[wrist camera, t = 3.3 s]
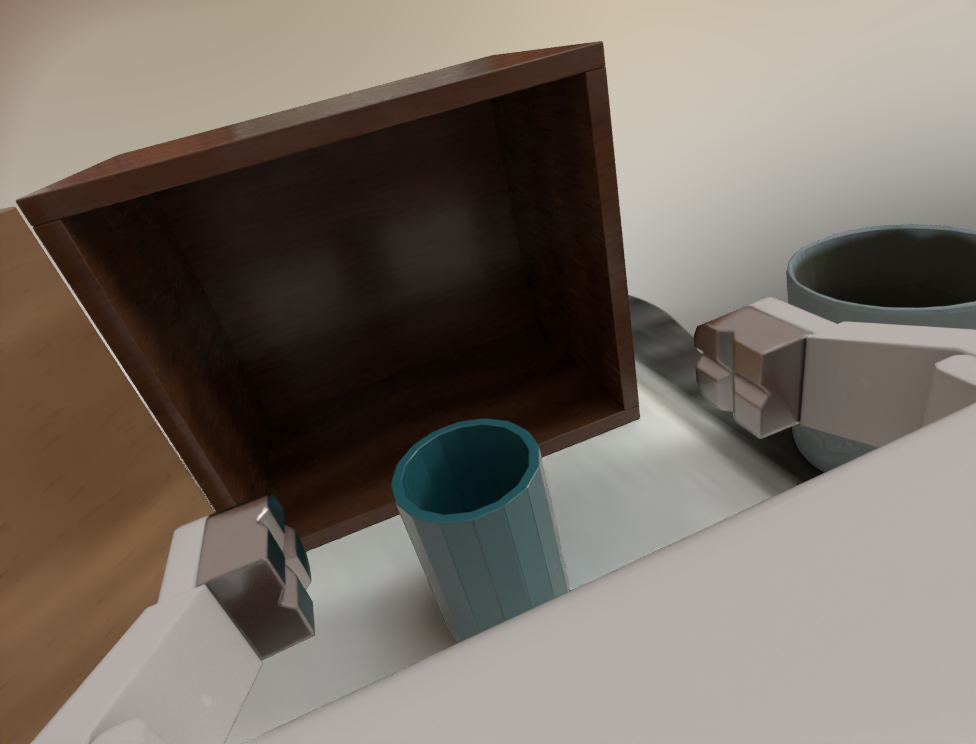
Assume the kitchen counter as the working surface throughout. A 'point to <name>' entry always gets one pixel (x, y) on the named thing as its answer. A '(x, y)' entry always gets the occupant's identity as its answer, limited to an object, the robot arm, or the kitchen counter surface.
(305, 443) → the cupboard
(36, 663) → the cupboard door
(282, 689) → the kitchen counter surface
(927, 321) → the grey mug
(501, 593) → the cup
